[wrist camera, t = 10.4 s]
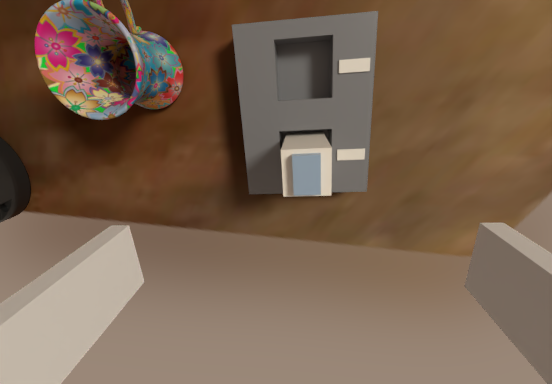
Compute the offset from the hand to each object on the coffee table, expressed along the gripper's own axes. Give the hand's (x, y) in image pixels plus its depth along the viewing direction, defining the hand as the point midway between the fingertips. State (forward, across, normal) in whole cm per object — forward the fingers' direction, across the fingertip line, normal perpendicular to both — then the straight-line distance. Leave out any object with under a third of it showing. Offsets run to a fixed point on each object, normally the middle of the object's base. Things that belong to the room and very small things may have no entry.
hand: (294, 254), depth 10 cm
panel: (+25, +1, +4) cm, 25 cm away
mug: (+25, -17, +10) cm, 32 cm away
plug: (+24, +1, -1) cm, 24 cm away
